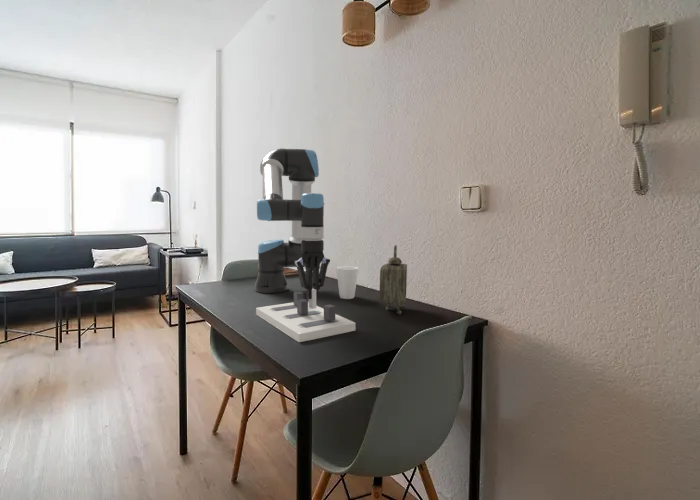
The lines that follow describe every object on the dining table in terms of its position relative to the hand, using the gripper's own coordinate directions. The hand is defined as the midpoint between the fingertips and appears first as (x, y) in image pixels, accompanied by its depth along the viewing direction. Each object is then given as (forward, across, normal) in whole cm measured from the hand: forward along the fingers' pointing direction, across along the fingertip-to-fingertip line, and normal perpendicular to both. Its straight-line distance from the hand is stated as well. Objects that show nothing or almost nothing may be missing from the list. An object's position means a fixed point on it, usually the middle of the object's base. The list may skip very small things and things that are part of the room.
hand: (312, 307), depth 131 cm
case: (+5, +30, +93) cm, 98 cm away
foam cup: (+5, +29, +22) cm, 37 cm away
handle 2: (+1, 0, -11) cm, 11 cm away
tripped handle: (+1, -4, 0) cm, 4 cm away
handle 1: (+1, 0, +11) cm, 11 cm away
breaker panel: (+4, -4, 0) cm, 6 cm away
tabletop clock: (+5, +32, -5) cm, 33 cm away
